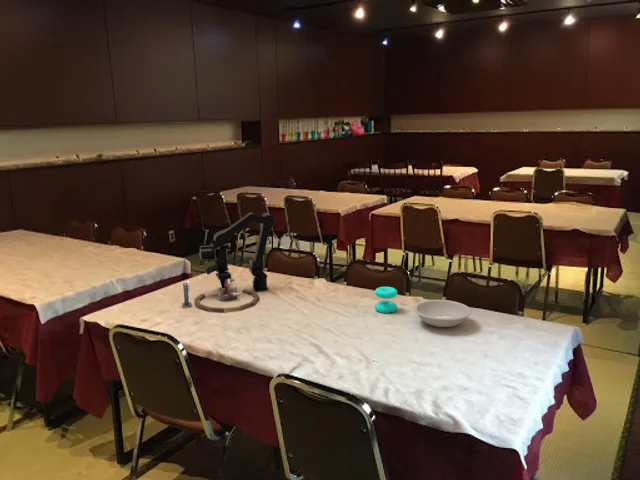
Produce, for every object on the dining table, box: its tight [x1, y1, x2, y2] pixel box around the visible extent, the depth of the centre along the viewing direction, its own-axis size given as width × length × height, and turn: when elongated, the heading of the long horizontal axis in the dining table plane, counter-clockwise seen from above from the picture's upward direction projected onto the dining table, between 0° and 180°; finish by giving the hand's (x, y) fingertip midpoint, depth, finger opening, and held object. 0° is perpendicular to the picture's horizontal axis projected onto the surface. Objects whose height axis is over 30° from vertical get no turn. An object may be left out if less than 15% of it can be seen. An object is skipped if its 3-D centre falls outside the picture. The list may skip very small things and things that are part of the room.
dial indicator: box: [181, 279, 193, 309], centre depth 256 cm, size 4×5×12 cm
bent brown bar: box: [194, 288, 260, 313], centre depth 261 cm, size 30×26×2 cm
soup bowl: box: [412, 299, 472, 328], centre depth 231 cm, size 24×24×7 cm
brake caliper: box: [217, 277, 241, 303], centre depth 266 cm, size 11×11×12 cm
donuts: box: [374, 286, 398, 314], centre depth 247 cm, size 10×10×10 cm
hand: (223, 288), depth 273 cm, fingers closed
